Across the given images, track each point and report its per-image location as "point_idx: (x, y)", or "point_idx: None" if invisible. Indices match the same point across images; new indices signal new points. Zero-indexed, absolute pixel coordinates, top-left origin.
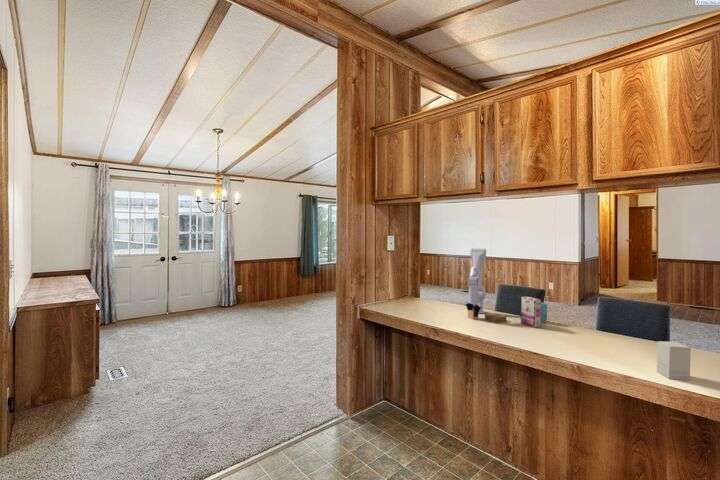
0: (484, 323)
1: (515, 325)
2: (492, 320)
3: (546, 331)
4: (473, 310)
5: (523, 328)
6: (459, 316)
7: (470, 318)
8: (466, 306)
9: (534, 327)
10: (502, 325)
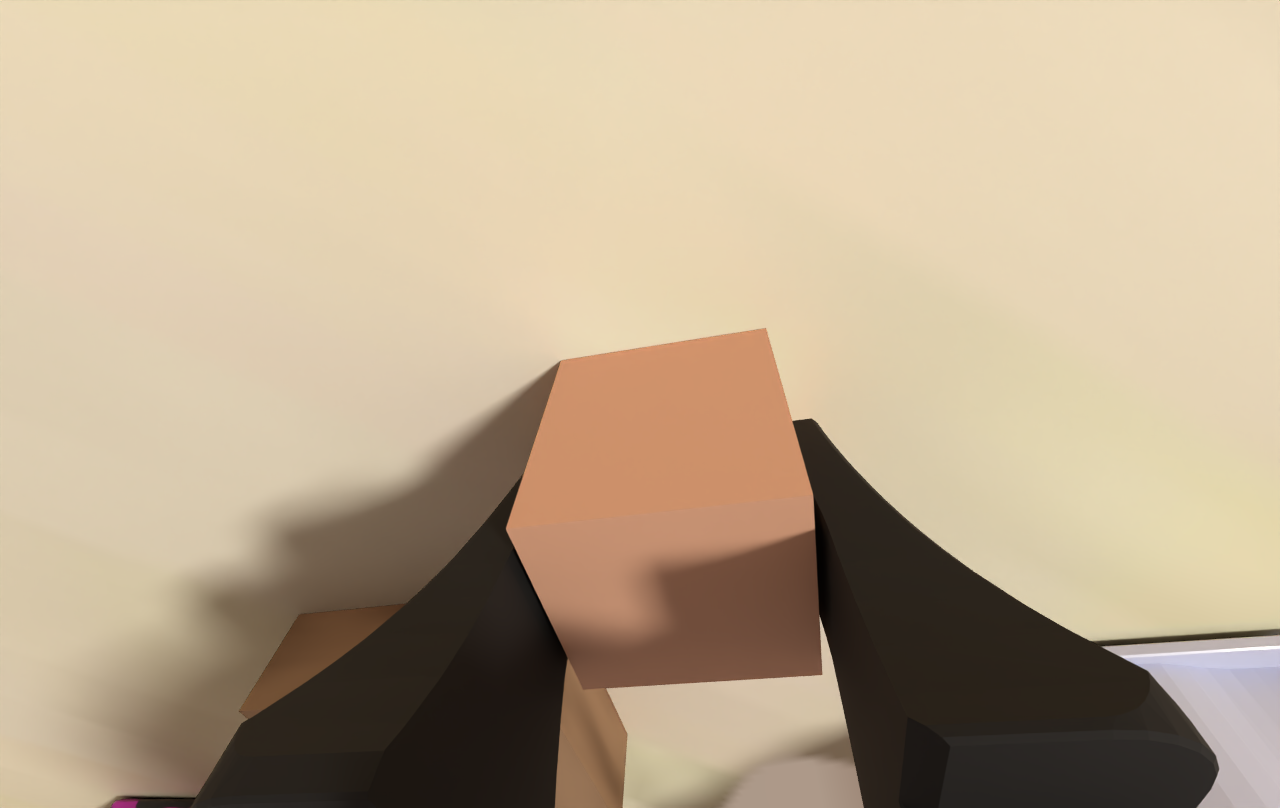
0: (175, 428)
1: (181, 726)
2: (353, 629)
3: (2, 803)
4: (695, 621)
5: (40, 725)
6: (1050, 132)
7: (654, 349)
8: (1020, 619)
9: (118, 802)
10: (117, 616)
